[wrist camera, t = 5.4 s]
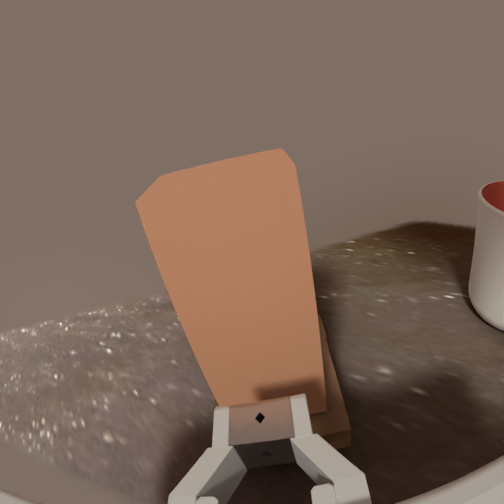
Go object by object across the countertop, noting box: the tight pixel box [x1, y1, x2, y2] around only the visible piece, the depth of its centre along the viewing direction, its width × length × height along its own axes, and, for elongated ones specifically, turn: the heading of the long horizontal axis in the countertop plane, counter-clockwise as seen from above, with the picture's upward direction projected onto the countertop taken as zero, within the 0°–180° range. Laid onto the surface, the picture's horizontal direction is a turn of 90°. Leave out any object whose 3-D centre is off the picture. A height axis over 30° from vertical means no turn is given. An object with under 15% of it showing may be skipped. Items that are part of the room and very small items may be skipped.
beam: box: [214, 313, 351, 450], centre depth 22 cm, size 7×17×4 cm, turn 2°
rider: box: [135, 148, 327, 414], centre depth 14 cm, size 5×4×13 cm
